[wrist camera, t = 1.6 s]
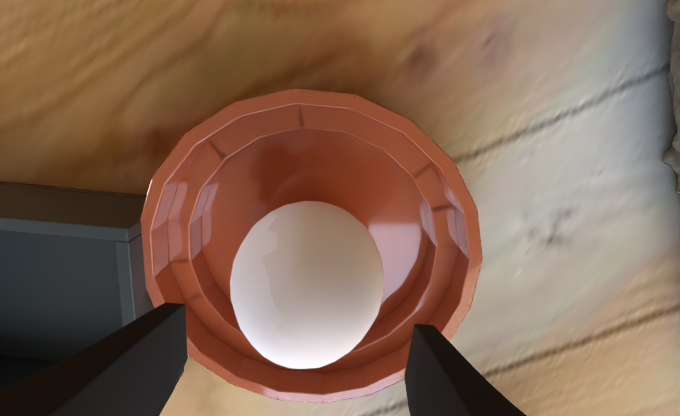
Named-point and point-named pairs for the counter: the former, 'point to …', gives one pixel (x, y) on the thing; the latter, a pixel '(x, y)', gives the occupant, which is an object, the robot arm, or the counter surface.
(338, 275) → the egg
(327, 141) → the bowl
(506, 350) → the counter surface
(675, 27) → the elongated rock
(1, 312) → the bin
